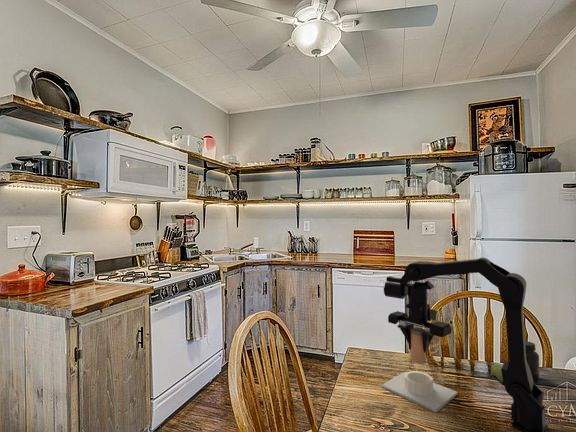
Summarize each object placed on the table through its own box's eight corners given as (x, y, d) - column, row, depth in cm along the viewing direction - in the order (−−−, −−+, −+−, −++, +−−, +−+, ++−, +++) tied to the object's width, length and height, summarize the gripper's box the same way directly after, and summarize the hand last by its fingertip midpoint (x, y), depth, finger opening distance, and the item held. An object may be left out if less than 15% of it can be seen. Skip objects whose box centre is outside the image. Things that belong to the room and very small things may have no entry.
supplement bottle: (544, 384, 106) (543, 347, 106) (520, 382, 107) (520, 346, 107) (532, 374, 113) (532, 339, 113) (511, 372, 114) (510, 338, 114)
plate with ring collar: (457, 394, 101) (457, 380, 101) (436, 412, 92) (435, 397, 92) (404, 373, 115) (404, 361, 115) (381, 387, 106) (381, 374, 106)
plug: (428, 361, 103) (428, 329, 103) (421, 365, 100) (421, 333, 100) (415, 356, 107) (415, 326, 107) (408, 360, 104) (408, 329, 104)
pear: (501, 369, 105) (485, 361, 115) (503, 386, 104) (486, 377, 114) (519, 369, 105) (501, 361, 115) (521, 387, 104) (503, 377, 114)
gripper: (459, 302, 101) (459, 352, 101) (404, 292, 116) (405, 335, 116) (442, 309, 94) (443, 362, 94) (386, 297, 109) (387, 343, 109)
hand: (418, 349), depth 103 cm, fingers closed on plug, 4 cm apart
